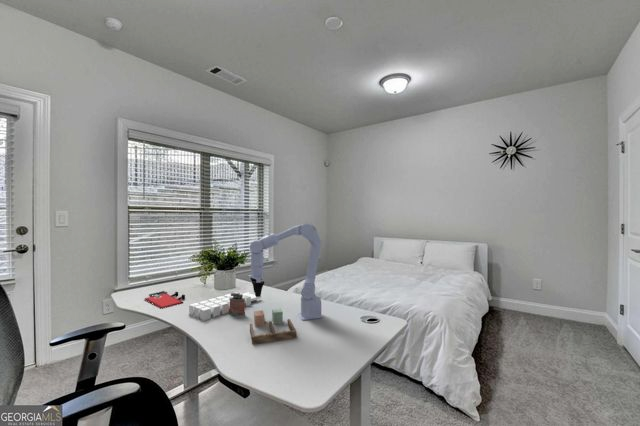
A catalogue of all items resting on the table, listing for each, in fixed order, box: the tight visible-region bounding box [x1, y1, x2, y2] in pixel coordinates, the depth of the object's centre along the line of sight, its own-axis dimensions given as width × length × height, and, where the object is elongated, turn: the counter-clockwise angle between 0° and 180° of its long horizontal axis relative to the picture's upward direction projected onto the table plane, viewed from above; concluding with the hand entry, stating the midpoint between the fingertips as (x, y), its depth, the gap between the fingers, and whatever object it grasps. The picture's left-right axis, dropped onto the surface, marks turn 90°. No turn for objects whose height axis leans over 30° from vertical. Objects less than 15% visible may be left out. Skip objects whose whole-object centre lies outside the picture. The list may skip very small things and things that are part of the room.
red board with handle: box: [144, 290, 186, 309], centre depth 158 cm, size 30×3×15 cm
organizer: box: [188, 291, 262, 321], centre depth 146 cm, size 13×5×35 cm
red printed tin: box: [228, 292, 246, 316], centre depth 136 cm, size 8×3×10 cm, turn 74°
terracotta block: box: [253, 310, 265, 327], centre depth 125 cm, size 4×6×4 cm, turn 18°
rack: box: [249, 318, 298, 345], centre depth 114 cm, size 17×13×3 cm
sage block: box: [271, 308, 284, 325], centre depth 126 cm, size 4×4×5 cm
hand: (257, 294), depth 133 cm, fingers open, 7 cm apart
